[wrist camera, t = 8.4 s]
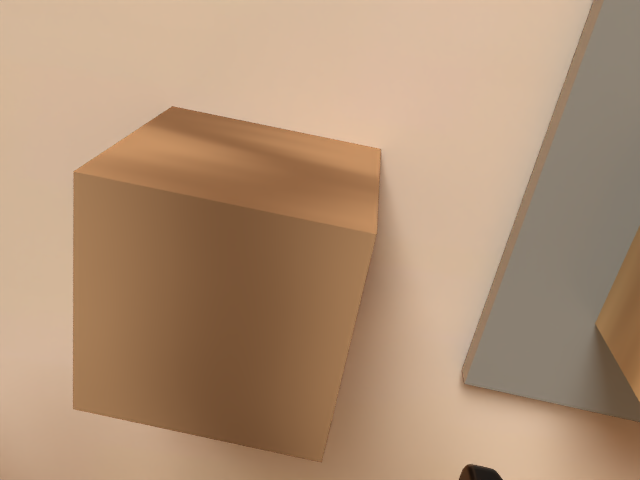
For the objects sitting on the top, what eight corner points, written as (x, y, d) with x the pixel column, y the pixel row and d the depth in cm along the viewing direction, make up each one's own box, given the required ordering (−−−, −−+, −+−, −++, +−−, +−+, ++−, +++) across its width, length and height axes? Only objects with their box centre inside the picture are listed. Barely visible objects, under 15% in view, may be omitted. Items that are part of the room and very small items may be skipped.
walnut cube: (160, 286, 16) (72, 408, 12) (173, 105, 14) (73, 171, 10) (340, 324, 16) (321, 462, 12) (380, 148, 14) (376, 234, 10)
